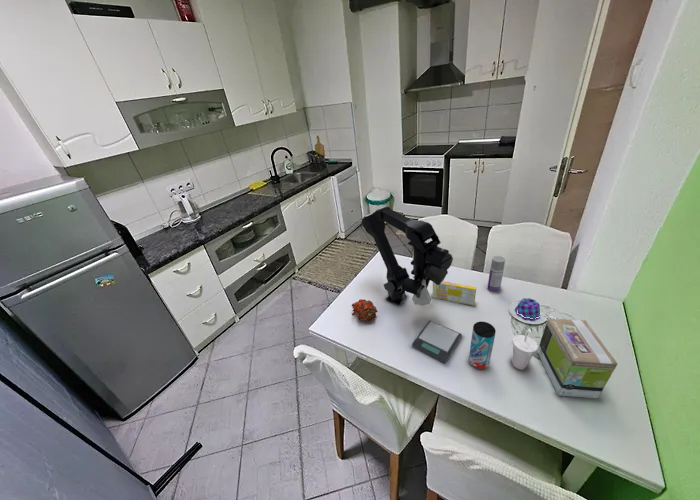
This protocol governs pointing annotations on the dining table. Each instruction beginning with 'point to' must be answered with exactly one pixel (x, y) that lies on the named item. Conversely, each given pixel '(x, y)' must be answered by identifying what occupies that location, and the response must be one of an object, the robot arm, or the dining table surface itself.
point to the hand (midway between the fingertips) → (421, 293)
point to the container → (496, 274)
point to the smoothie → (523, 350)
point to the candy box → (455, 292)
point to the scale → (437, 341)
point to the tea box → (575, 358)
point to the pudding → (527, 311)
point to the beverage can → (481, 345)
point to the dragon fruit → (364, 310)
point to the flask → (422, 296)
